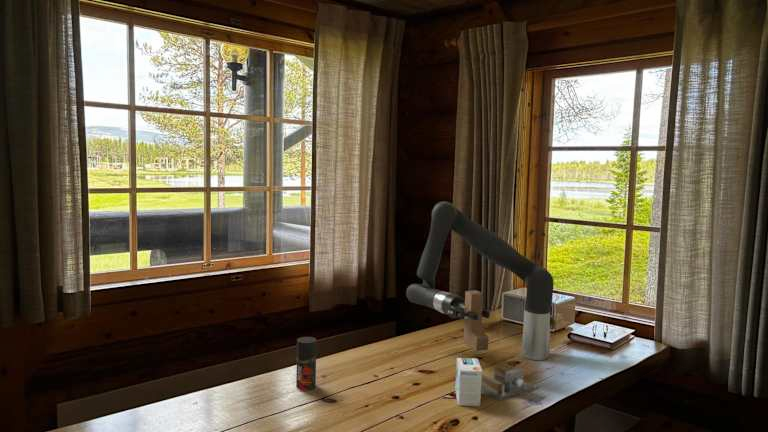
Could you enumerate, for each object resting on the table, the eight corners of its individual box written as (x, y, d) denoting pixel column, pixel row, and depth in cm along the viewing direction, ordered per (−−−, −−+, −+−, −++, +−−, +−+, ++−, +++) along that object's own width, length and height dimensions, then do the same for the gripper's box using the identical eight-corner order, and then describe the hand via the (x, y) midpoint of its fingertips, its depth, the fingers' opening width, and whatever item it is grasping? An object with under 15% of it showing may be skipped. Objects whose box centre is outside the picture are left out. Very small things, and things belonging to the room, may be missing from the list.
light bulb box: (454, 390, 172) (456, 357, 171) (476, 391, 172) (477, 357, 170) (458, 405, 161) (459, 370, 160) (481, 406, 161) (483, 371, 160)
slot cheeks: (498, 373, 184) (498, 365, 184) (524, 384, 176) (524, 376, 175) (472, 380, 178) (472, 372, 177) (497, 392, 169) (497, 384, 168)
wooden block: (488, 350, 181) (490, 296, 179) (476, 351, 179) (478, 297, 177) (474, 341, 189) (476, 289, 187) (462, 342, 188) (464, 290, 186)
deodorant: (318, 384, 173) (319, 338, 171) (310, 392, 167) (311, 344, 166) (301, 381, 175) (302, 335, 173) (292, 389, 169) (293, 341, 167)
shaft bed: (501, 374, 186) (502, 354, 185) (538, 390, 173) (539, 369, 173) (466, 384, 177) (467, 362, 176) (502, 402, 164) (503, 379, 164)
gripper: (433, 295, 190) (467, 307, 177) (464, 291, 199) (499, 302, 185) (432, 317, 191) (466, 330, 177) (463, 311, 199) (498, 324, 185)
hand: (483, 316), depth 181 cm, fingers closed on wooden block, 4 cm apart
